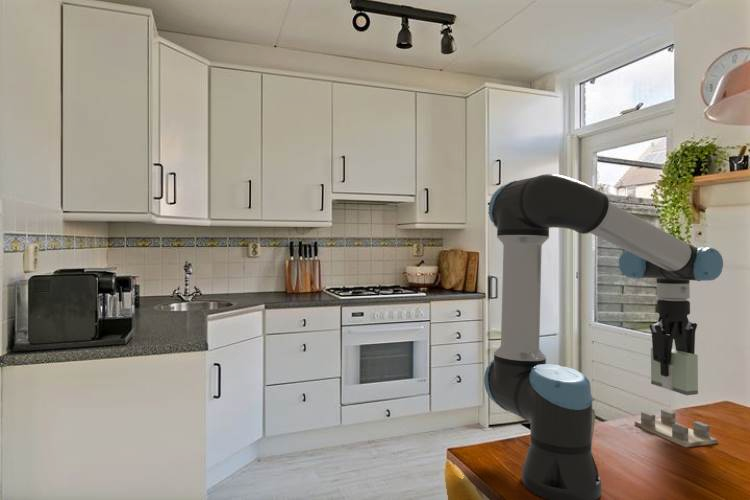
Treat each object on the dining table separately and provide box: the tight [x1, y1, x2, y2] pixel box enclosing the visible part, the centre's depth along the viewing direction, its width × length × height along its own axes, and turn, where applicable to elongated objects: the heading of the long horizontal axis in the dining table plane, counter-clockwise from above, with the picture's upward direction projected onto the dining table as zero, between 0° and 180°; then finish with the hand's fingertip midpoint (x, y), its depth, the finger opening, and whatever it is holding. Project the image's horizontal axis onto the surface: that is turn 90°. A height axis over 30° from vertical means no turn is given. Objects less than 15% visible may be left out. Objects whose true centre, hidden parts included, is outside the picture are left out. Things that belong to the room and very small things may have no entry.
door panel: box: [650, 346, 699, 396], centre depth 126 cm, size 4×11×10 cm, turn 15°
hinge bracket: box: [634, 409, 719, 448], centre depth 126 cm, size 10×16×4 cm, turn 15°
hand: (674, 387), depth 126 cm, fingers closed on door panel, 4 cm apart
